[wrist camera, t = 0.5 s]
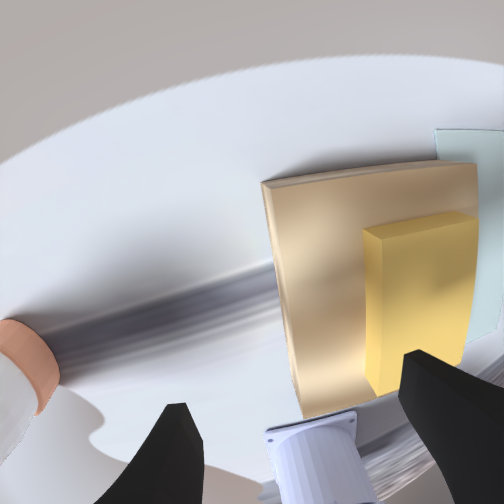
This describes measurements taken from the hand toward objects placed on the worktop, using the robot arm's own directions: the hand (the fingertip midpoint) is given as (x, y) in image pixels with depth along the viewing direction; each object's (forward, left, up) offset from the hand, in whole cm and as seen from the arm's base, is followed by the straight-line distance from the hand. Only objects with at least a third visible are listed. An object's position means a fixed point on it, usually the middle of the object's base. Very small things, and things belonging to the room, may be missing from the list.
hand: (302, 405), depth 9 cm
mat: (-1, -17, -10) cm, 20 cm away
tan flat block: (-1, -7, -10) cm, 12 cm away
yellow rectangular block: (-1, -8, -6) cm, 10 cm away
